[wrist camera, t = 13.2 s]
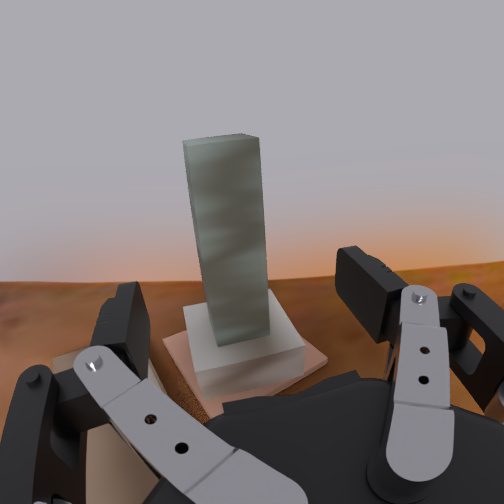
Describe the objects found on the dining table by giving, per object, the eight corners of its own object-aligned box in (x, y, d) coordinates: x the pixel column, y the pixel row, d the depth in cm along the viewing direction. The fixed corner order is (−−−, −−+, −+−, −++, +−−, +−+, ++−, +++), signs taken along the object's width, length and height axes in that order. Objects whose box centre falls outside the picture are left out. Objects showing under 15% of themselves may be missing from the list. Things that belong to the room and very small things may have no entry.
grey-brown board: (172, 659, 2) (164, 663, 2) (57, 368, 18) (51, 358, 18) (324, 603, 5) (327, 604, 5) (139, 339, 22) (135, 329, 21)
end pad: (214, 425, 15) (213, 420, 15) (164, 344, 21) (162, 339, 21) (327, 363, 19) (328, 358, 18) (258, 305, 25) (257, 300, 25)
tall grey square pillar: (203, 400, 16) (148, 157, 10) (189, 335, 21) (153, 143, 15) (303, 374, 17) (307, 138, 12) (271, 317, 23) (260, 129, 17)
